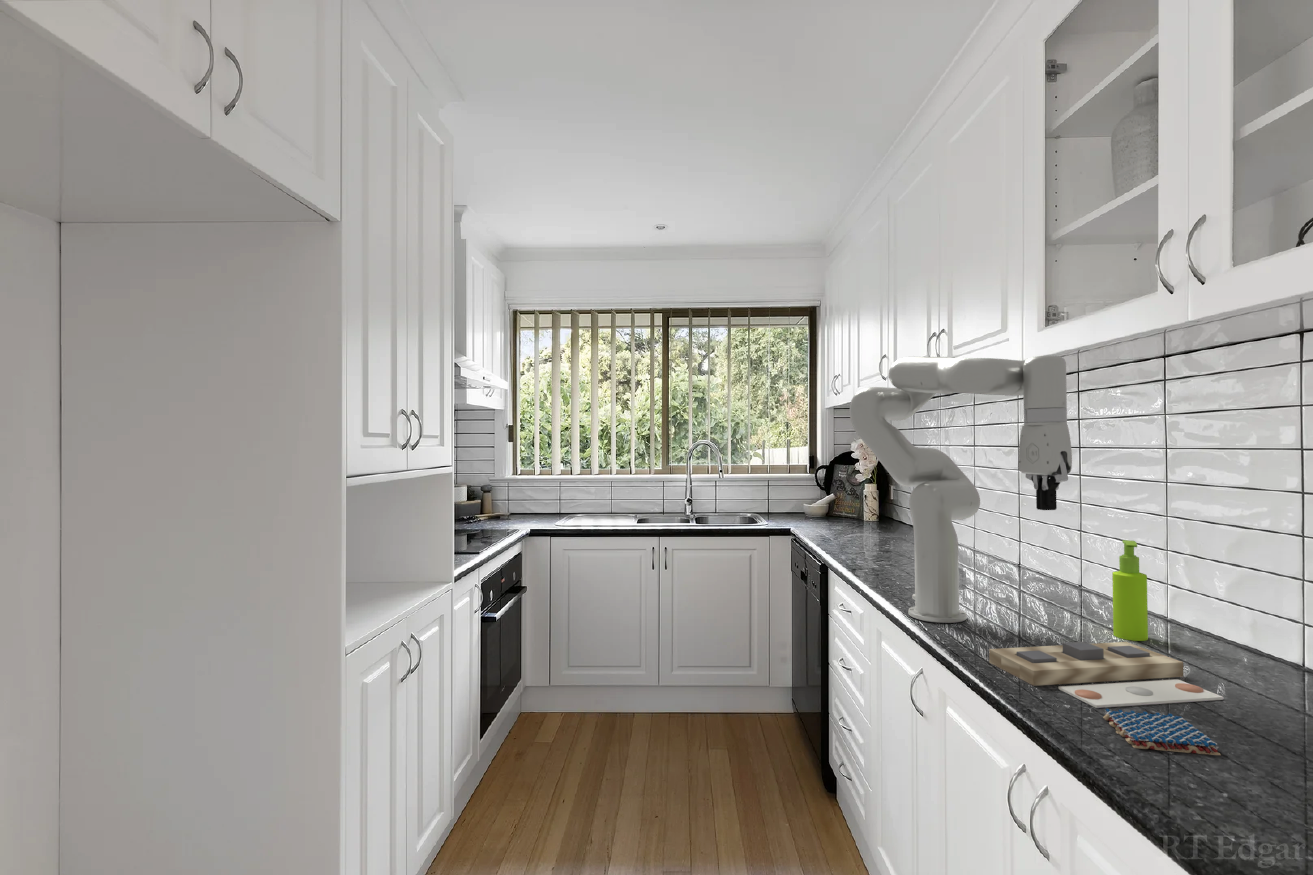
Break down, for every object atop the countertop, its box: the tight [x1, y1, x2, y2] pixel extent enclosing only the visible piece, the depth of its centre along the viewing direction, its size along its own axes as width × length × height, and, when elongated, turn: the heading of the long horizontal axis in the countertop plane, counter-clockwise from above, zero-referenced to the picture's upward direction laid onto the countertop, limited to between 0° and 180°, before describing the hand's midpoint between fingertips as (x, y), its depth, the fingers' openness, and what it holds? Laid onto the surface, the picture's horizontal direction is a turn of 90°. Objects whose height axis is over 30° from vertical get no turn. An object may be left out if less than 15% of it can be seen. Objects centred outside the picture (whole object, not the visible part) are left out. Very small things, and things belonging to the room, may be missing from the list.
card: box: [1058, 678, 1224, 709], centre depth 108 cm, size 22×8×1 cm, turn 97°
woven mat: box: [1102, 708, 1222, 756], centre depth 93 cm, size 10×11×2 cm
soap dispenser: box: [1111, 539, 1149, 642], centre depth 139 cm, size 6×7×20 cm
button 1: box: [1017, 650, 1057, 663], centre depth 119 cm, size 4×4×2 cm
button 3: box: [1108, 646, 1150, 658], centre depth 121 cm, size 4×4×2 cm
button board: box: [988, 641, 1184, 687], centre depth 120 cm, size 28×12×2 cm, turn 97°
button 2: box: [1062, 641, 1104, 661], centre depth 120 cm, size 4×4×2 cm
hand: (1046, 509), depth 135 cm, fingers closed
